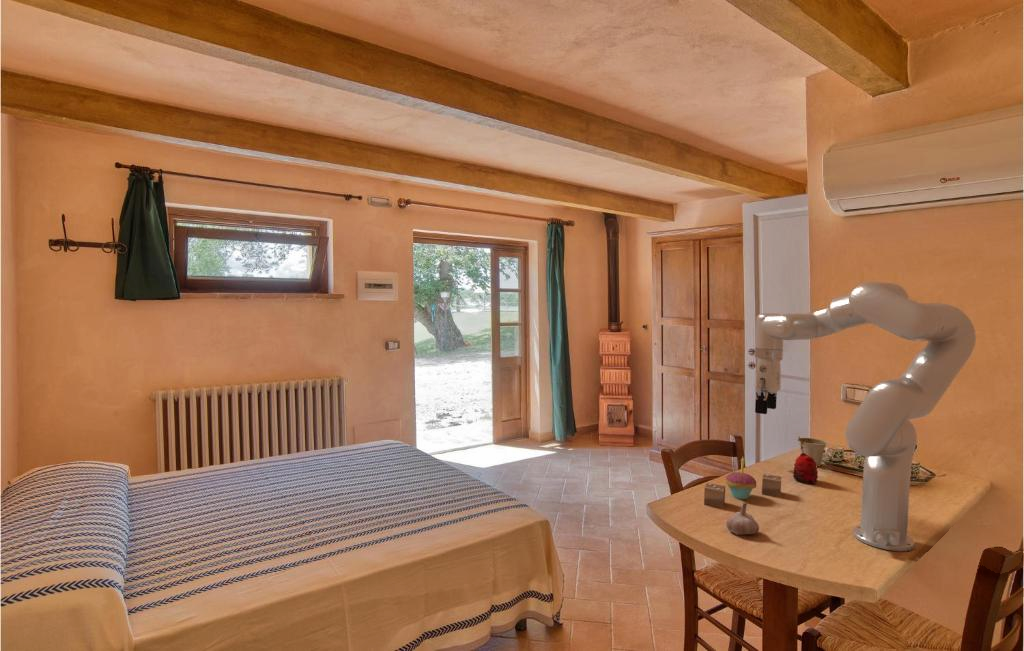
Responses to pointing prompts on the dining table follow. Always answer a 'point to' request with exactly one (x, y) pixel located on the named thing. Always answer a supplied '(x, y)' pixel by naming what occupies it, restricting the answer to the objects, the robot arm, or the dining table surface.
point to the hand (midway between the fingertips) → (765, 410)
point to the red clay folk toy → (805, 468)
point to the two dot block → (771, 485)
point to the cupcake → (740, 483)
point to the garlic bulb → (742, 523)
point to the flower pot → (813, 448)
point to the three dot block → (714, 495)
